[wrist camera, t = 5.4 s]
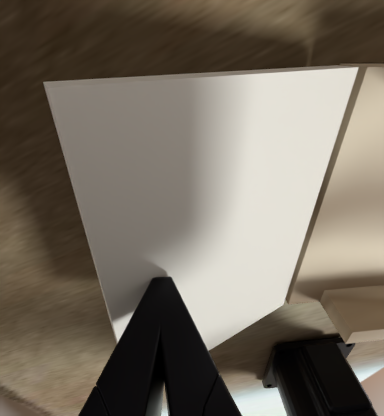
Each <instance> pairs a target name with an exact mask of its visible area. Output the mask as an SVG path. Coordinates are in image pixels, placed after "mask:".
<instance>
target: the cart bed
mask: <svg viewBox="0 0 384 416" xmlns="http://www.w3.org/2000/svg"><path fill="white" fill-rule="evenodd" d="M340 66H351V67H359V68H358V72H357V75H356V78H355V81H354V84H353V87H352V90H351V94H350V97H349V100H348V103H347V106H346V109H345V112H344V116H343V119H342V122H341V125H340V128H339V131H338V134H337V138H336V141H335V144H334V147H333V150H332V153H331V156H330V160H329V163H328V166H327V169H326V172H325V175H324V178H323V182H322V185H321V188H320V191H319V194H318V197H317V200H316V204H315V207H314V210H313V213H312V216H311V219H310V222H309V226H308V229H307V232H306V235H305V238H304V241H303V244H302V248H301V251H300V254H299V257H298V260H297V263H296V267H295V270H294V273H293V276H292V279H291V282H290V285H289V289H288V292H287V295H286V298H285V299H286V301H287V303H288V304H298V303H309V302H320V303H321V305H322V306H323V308H324V309H325V311H326V313H327V314H328V316H329V318H330V319H331V321H332V322H333V324H334V326H335V327H336V329H337V331H338V332H339V334H340V336H341V337H342V339H343V340H344V342H345V344H349V343H358V342H367V341H377V340H384V63H370V64H340Z"/></svg>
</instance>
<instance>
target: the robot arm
mask: <svg viewBox="0 0 384 416" xmlns="http://www.w3.org/2000/svg"><path fill="white" fill-rule="evenodd" d="M354 345H355V343H349V344H345V342H344V340H343V339H342V337H341V338H332V339H322V340H313V341H303V342H294V343H284V344H278V345H276V346H274V348H273V350H272V353H271V356H270V360H269V363H268V366H267V369H266V372H265V375H264V378H263V381H262V383H263V386H264V388H275V387H278V390H279V393H280V396H281V399H282V402H283V405H284V408H285V411H286V414H287V416H378V415H377V413H376V412H375V410H374V408H373V406H372V403H371V401H370V399H369V397H368V395H367V394H366V392H365V390H364V389H363V387H362V385H361V384H360V382H359V380H358V378H357V377H356V375H355V373H354V372H353V370H352V368H351V366H350V365H349V363H348V361H347V360H346V358H347V356H348V355H349V353H350V352H351V350H352V349H353V347H354ZM164 383H165V392H166V400H167V409H168V416H242V415H241V413H240V411H239V410H238V408H237V406H236V404H235V402H234V400H233V398H232V396H231V395H230V393H229V391H228V389H227V387H226V385H225V383H224V381H223V379H222V377H221V375H219V371H218V369H217V367H216V365H215V363H214V361H213V359H212V357H211V355H210V353H209V351H208V349H207V347H206V345H205V343H204V341H203V339H202V337H201V335H200V333H199V331H198V329H197V327H196V325H195V323H194V321H193V319H192V317H191V315H190V313H189V311H188V309H187V307H186V305H185V303H184V301H183V299H182V297H181V295H180V293H179V291H178V289H177V287H176V285H175V283H174V281H173V279H172V277H170V276H167V277H155V278H152V280H151V281H150V283H149V285H148V287H147V289H146V291H145V293H144V294H143V296H142V298H141V300H140V302H139V304H138V306H137V308H136V309H135V311H134V313H133V315H132V317H131V319H130V321H129V323H128V324H127V326H126V328H125V330H124V332H123V334H122V336H121V338H120V339H119V341H118V343H117V345H116V347H115V349H114V351H113V353H112V354H111V356H110V358H109V360H108V362H107V364H106V366H105V368H104V369H103V371H102V373H101V375H100V377H99V379H98V381H97V382H96V385H97V386H95V387H94V388H93V390H92V392H91V393H90V395H89V397H88V399H87V401H86V403H85V405H84V406H83V408H82V410H81V412H80V413H79V415H78V416H161V410H162V400H163V389H164Z"/></svg>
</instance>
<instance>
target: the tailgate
mask: <svg viewBox="0 0 384 416" xmlns="http://www.w3.org/2000/svg"><path fill="white" fill-rule="evenodd" d="M358 68H359V67H351V66H339V65H332V66H314V67H297V68H279V69H261V70H244V71H226V72H208V73H191V74H173V75H155V76H138V77H120V78H103V79H85V80H67V81H50V82H43V84H44V87H45V91H46V94H47V98H48V101H49V105H50V109H51V112H52V116H53V119H54V123H55V126H56V130H57V133H58V137H59V141H60V144H61V148H62V151H63V155H64V158H65V162H66V165H67V169H68V173H69V176H70V180H71V183H72V187H73V190H74V194H75V197H76V201H77V205H78V208H79V212H80V215H81V219H82V222H83V226H84V229H85V233H86V237H87V240H88V244H89V247H90V251H91V254H92V258H93V261H94V265H95V269H96V272H97V276H98V279H99V283H100V286H101V290H102V293H103V297H104V301H105V304H106V308H107V311H108V315H109V318H110V322H111V325H112V329H113V333H114V336H115V340H116V343H118V341H119V339H120V338H121V336H122V334H123V332H124V330H125V328H126V326H127V324H128V323H129V321H130V319H131V317H132V315H133V313H134V311H135V309H136V308H137V306H138V304H139V302H140V300H141V298H142V296H143V294H144V293H145V291H146V289H147V287H148V285H149V283H150V281H151V280H152V278H155V277H167V276H170V277H172V279H173V281H174V283H175V285H176V287H177V289H178V291H179V293H180V295H181V297H182V299H183V301H184V303H185V305H186V307H187V309H188V311H189V313H190V315H191V317H192V319H193V321H194V323H195V325H196V327H197V329H198V331H199V333H200V335H201V337H202V339H203V341H204V343H205V345H206V347H207V349H208V351H209V350H211V349H212V348H214V347H216V346H217V345H219V344H221V343H222V342H224V341H225V340H227V339H229V338H230V337H232V336H234V335H235V334H237V333H238V332H240V331H242V330H243V329H245V328H247V327H248V326H250V325H251V324H253V323H255V322H256V321H258V320H260V319H261V318H263V317H264V316H266V315H268V314H269V313H271V312H273V311H274V310H276V309H277V308H279V307H281V306H282V305H283V304H284V301H285V298H286V295H287V292H288V289H289V285H290V282H291V279H292V276H293V273H294V270H295V267H296V263H297V260H298V257H299V254H300V251H301V248H302V244H303V241H304V238H305V235H306V232H307V229H308V226H309V222H310V219H311V216H312V213H313V210H314V207H315V204H316V200H317V197H318V194H319V191H320V188H321V185H322V182H323V178H324V175H325V172H326V169H327V166H328V163H329V160H330V156H331V153H332V150H333V147H334V144H335V141H336V138H337V134H338V131H339V128H340V125H341V122H342V119H343V116H344V112H345V109H346V106H347V103H348V100H349V97H350V94H351V90H352V87H353V84H354V81H355V78H356V75H357V72H358Z"/></svg>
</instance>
